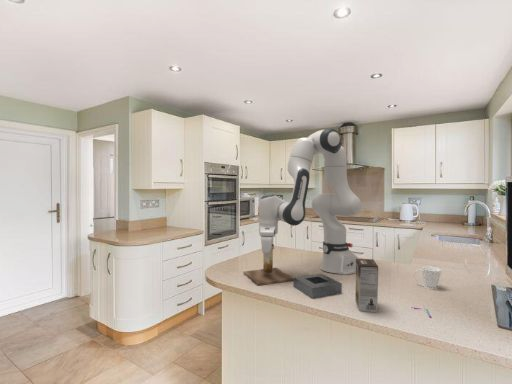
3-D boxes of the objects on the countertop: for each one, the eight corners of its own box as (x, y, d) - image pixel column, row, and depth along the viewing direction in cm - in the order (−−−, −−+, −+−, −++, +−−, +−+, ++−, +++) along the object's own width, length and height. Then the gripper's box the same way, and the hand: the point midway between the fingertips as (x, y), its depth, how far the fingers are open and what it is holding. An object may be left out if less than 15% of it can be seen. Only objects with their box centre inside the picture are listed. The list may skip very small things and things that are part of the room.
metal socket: (320, 282, 125) (320, 273, 125) (341, 293, 112) (341, 283, 112) (293, 286, 119) (293, 276, 119) (312, 298, 107) (312, 288, 106)
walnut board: (276, 269, 143) (276, 267, 143) (294, 280, 127) (294, 278, 126) (243, 273, 136) (243, 271, 136) (257, 285, 120) (257, 283, 120)
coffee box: (354, 300, 105) (355, 258, 105) (372, 301, 104) (373, 259, 103) (358, 311, 96) (359, 264, 96) (378, 312, 95) (379, 266, 94)
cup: (442, 291, 114) (442, 272, 114) (414, 287, 119) (414, 268, 119) (439, 286, 121) (439, 267, 121) (413, 282, 125) (413, 264, 125)
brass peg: (262, 269, 134) (262, 242, 134) (274, 270, 134) (274, 243, 133) (261, 273, 129) (261, 245, 129) (273, 273, 128) (273, 245, 128)
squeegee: (406, 297, 107) (421, 299, 106) (406, 299, 107) (421, 301, 106) (414, 314, 93) (431, 317, 91) (414, 316, 93) (431, 319, 91)
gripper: (263, 226, 142) (263, 253, 142) (259, 232, 121) (259, 264, 122) (276, 226, 141) (276, 253, 141) (273, 233, 120) (273, 264, 121)
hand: (268, 258), depth 131 cm, fingers closed on brass peg, 5 cm apart
